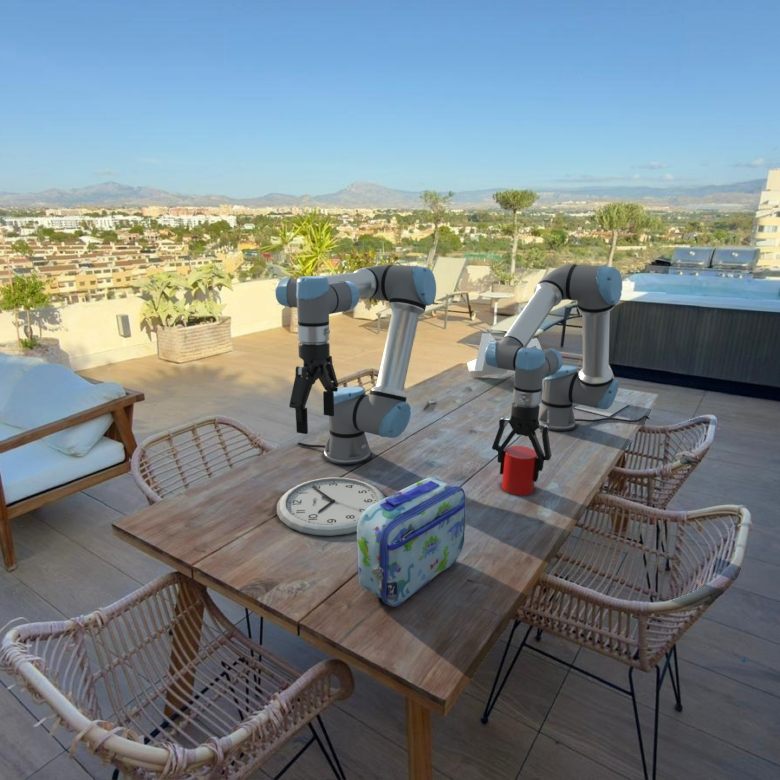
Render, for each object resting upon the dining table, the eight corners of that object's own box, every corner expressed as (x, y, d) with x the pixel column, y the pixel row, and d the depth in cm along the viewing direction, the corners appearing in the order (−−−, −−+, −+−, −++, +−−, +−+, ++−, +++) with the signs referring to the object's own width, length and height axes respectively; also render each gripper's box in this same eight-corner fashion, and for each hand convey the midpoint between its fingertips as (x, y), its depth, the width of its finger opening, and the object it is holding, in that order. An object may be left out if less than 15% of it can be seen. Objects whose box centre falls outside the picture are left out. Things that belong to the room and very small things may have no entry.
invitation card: (608, 416, 214) (573, 407, 224) (608, 416, 214) (573, 408, 224) (628, 404, 229) (594, 396, 238) (628, 405, 229) (594, 397, 238)
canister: (495, 485, 155) (498, 450, 152) (516, 478, 160) (520, 443, 157) (518, 498, 148) (522, 461, 145) (540, 490, 153) (544, 454, 150)
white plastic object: (487, 418, 267) (468, 395, 242) (469, 346, 289) (449, 318, 264) (558, 394, 255) (545, 368, 230) (533, 321, 277) (518, 289, 252)
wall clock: (392, 527, 129) (268, 531, 127) (391, 533, 130) (269, 537, 127) (383, 473, 158) (282, 475, 155) (383, 478, 158) (282, 480, 156)
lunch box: (386, 620, 101) (388, 525, 95) (350, 593, 108) (349, 503, 102) (468, 563, 119) (474, 480, 112) (432, 543, 126) (436, 464, 120)
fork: (420, 410, 217) (420, 406, 216) (430, 399, 231) (431, 395, 231) (426, 411, 216) (426, 406, 216) (436, 400, 231) (436, 395, 230)
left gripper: (300, 354, 114) (303, 443, 121) (350, 334, 136) (350, 410, 143) (271, 350, 117) (275, 438, 123) (325, 331, 139) (326, 406, 145)
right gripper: (484, 401, 148) (478, 473, 155) (564, 414, 139) (554, 490, 145) (491, 394, 154) (486, 463, 161) (568, 406, 145) (559, 479, 152)
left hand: (316, 423), depth 133 cm, fingers open, 13 cm apart
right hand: (518, 476), depth 153 cm, fingers closed on canister, 9 cm apart
